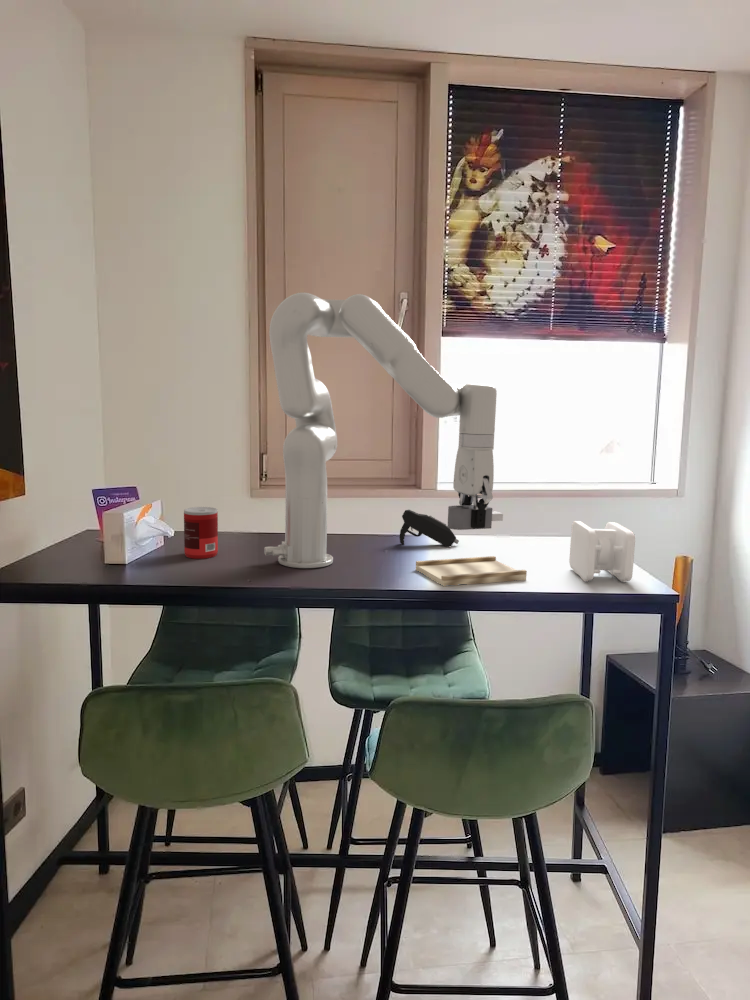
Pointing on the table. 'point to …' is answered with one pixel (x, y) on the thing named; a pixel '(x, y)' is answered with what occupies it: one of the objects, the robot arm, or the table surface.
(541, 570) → the table surface
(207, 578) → the table surface
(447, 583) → the board
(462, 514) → the connector
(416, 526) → the gun
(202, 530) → the canned food
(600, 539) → the cable organizer
